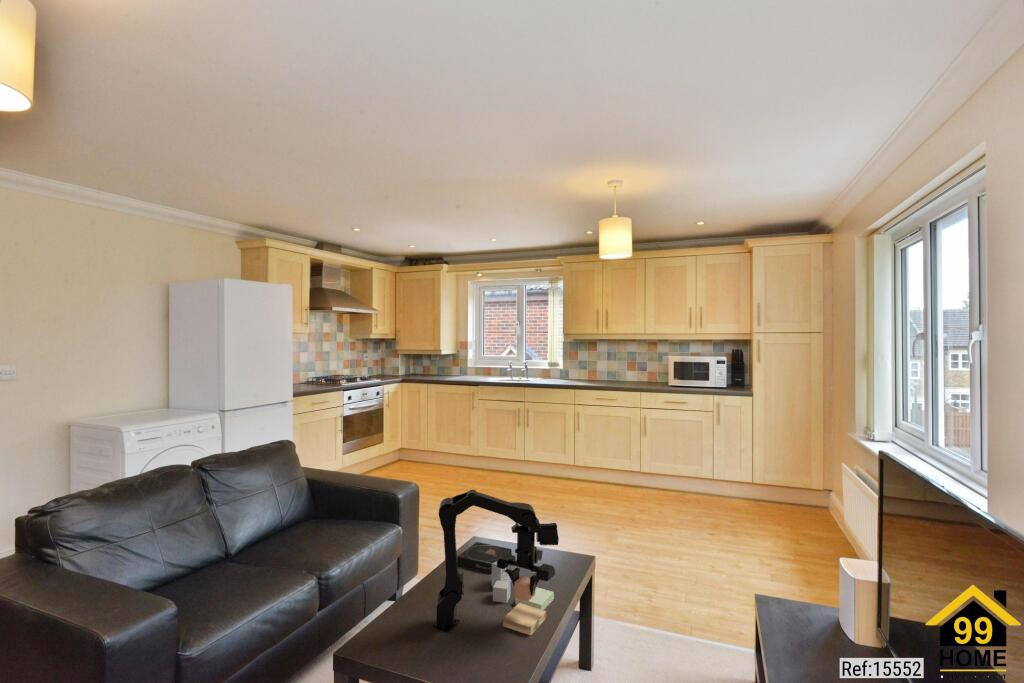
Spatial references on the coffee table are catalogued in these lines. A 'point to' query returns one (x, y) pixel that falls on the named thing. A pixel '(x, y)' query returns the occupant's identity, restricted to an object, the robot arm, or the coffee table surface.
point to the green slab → (538, 599)
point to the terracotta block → (523, 589)
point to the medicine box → (499, 574)
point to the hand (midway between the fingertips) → (524, 593)
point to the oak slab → (524, 618)
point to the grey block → (501, 591)
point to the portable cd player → (481, 556)
